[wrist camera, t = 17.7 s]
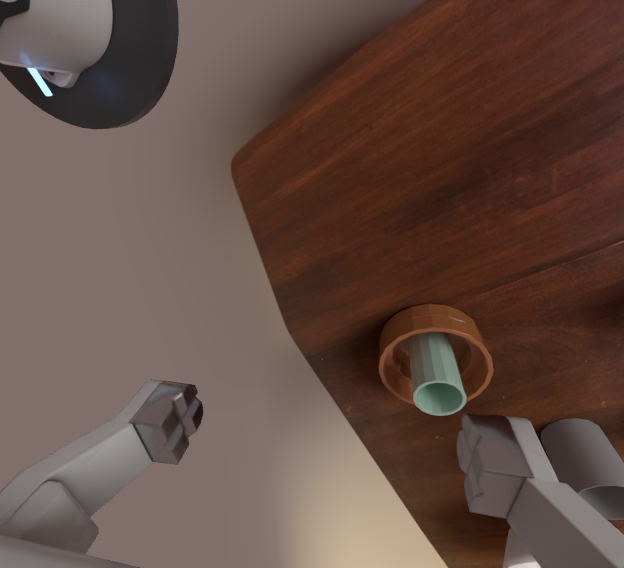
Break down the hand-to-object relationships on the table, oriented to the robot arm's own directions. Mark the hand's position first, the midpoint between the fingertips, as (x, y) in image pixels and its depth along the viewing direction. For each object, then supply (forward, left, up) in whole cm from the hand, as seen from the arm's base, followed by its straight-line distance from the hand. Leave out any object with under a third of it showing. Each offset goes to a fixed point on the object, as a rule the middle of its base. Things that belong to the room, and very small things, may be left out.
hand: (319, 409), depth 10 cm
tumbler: (+17, -19, -32) cm, 41 cm away
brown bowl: (+17, -19, -33) cm, 41 cm away
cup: (+45, -27, -33) cm, 62 cm away
